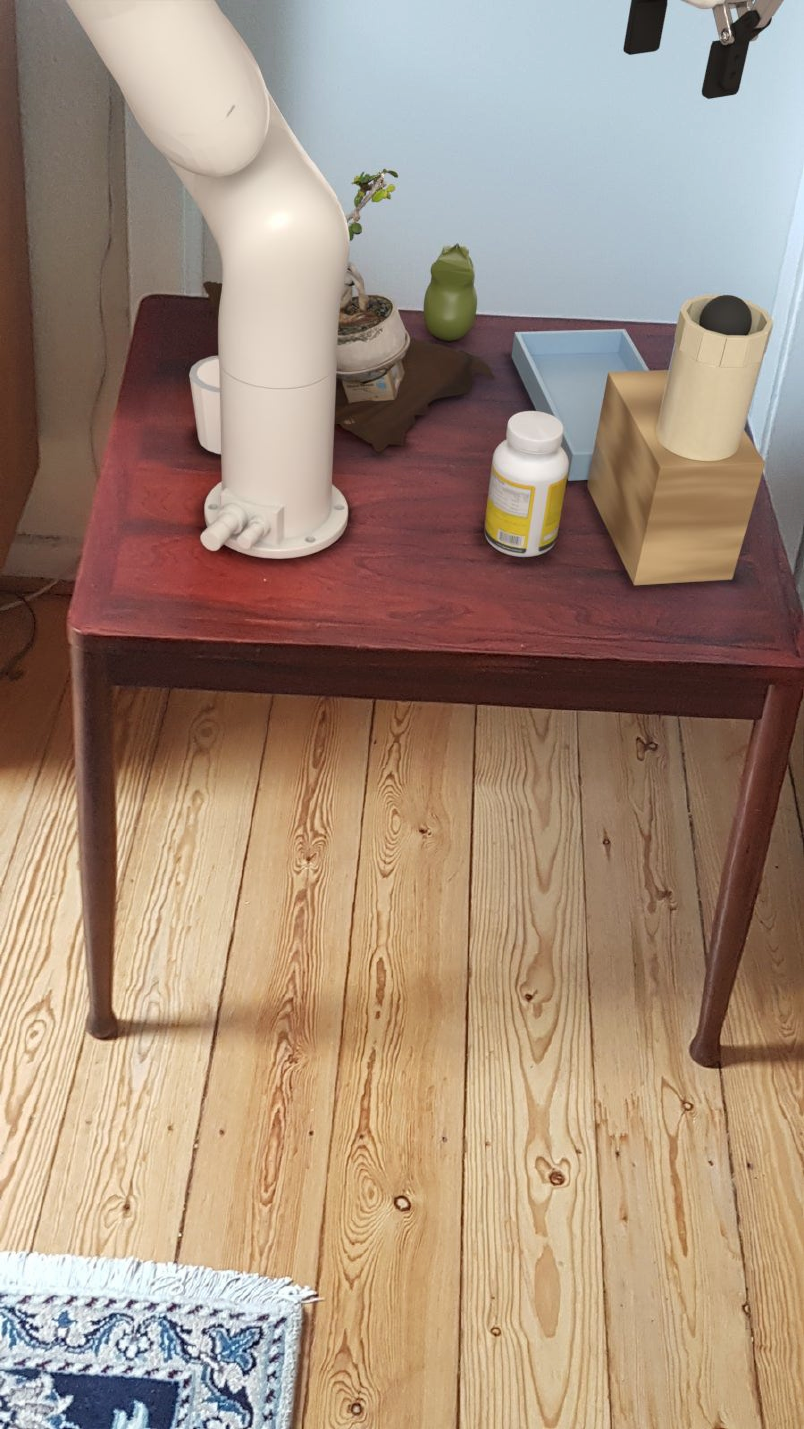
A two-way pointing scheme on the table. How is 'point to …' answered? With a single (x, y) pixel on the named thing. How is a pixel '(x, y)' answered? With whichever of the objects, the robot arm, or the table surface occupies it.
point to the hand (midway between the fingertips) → (679, 73)
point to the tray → (573, 381)
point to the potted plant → (384, 353)
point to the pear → (451, 295)
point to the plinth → (667, 490)
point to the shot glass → (207, 402)
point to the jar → (710, 384)
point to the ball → (726, 316)
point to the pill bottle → (527, 486)
